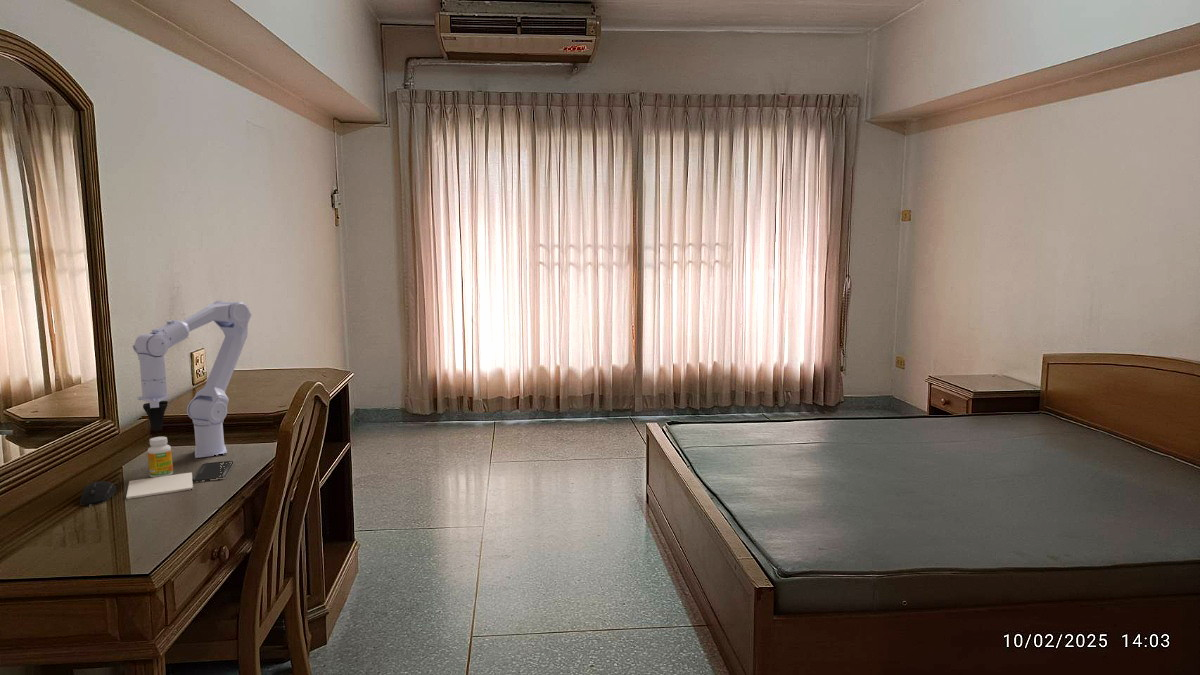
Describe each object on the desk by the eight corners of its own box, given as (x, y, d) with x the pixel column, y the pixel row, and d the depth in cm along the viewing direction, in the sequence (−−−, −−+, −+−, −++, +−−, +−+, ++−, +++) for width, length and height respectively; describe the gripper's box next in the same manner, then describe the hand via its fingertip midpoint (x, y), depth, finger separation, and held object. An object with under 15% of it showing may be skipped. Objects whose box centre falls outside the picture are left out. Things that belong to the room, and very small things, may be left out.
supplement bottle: (157, 479, 203) (153, 442, 202) (145, 476, 206) (141, 439, 204) (177, 473, 207) (174, 437, 206) (166, 470, 210) (162, 434, 209)
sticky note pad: (129, 482, 200) (129, 480, 200) (192, 474, 207) (191, 472, 207) (126, 499, 188) (126, 497, 188) (192, 489, 194) (192, 487, 194)
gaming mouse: (71, 512, 180) (69, 495, 180) (89, 492, 194) (88, 476, 194) (103, 509, 182) (101, 492, 182) (119, 489, 196) (117, 474, 196)
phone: (234, 460, 216) (225, 476, 202) (234, 464, 216) (225, 480, 202) (202, 463, 214) (190, 479, 200) (202, 467, 214) (191, 484, 200)
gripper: (137, 376, 214) (141, 425, 216) (134, 384, 202) (138, 437, 203) (167, 374, 218) (170, 422, 219) (166, 382, 205) (170, 434, 207)
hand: (157, 429), depth 211 cm, fingers closed
